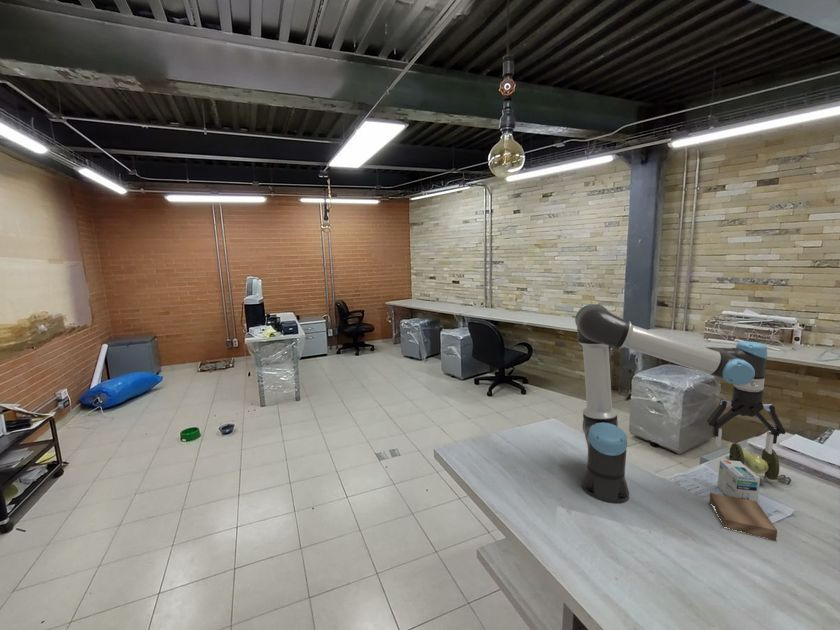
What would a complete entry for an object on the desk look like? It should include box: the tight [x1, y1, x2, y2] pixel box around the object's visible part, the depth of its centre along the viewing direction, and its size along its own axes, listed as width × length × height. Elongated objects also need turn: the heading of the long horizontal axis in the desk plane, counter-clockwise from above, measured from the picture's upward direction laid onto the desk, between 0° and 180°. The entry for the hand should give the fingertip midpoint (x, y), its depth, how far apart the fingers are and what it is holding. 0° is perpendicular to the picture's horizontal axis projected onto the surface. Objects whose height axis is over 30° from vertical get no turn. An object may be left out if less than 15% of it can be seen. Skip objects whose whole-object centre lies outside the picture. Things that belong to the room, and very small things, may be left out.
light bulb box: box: [717, 459, 761, 504], centre depth 127 cm, size 11×7×11 cm, turn 168°
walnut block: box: [708, 492, 778, 542], centre depth 115 cm, size 12×14×5 cm
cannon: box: [726, 442, 780, 481], centre depth 145 cm, size 25×12×11 cm, turn 158°
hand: (742, 448), depth 125 cm, fingers open, 13 cm apart
